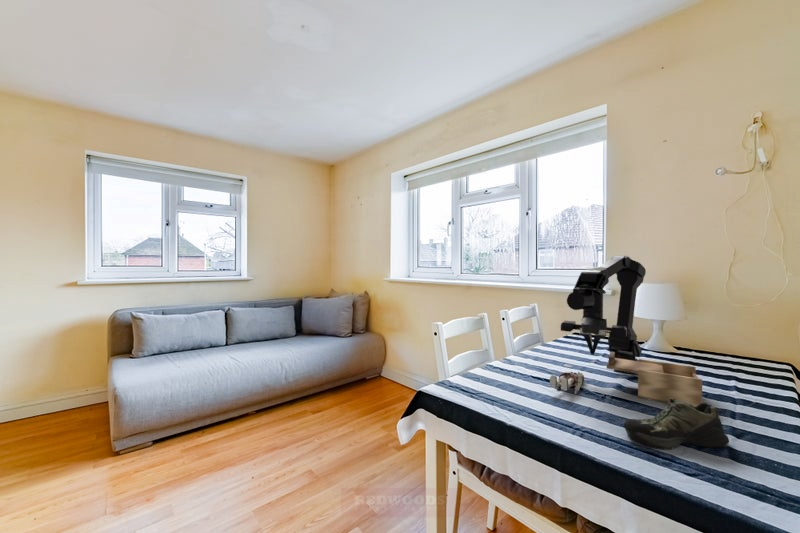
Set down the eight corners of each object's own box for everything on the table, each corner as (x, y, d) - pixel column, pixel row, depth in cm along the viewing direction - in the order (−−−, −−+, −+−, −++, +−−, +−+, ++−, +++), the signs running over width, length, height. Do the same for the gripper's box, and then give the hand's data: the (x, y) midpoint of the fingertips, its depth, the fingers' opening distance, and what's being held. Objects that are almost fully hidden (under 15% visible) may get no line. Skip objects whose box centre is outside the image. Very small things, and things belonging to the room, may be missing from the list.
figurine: (547, 373, 99) (570, 366, 113) (546, 393, 99) (569, 383, 113) (569, 378, 95) (590, 370, 109) (568, 399, 94) (589, 388, 108)
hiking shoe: (612, 430, 79) (613, 392, 78) (700, 429, 79) (700, 390, 79) (639, 451, 70) (639, 408, 70) (737, 449, 71) (737, 406, 70)
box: (638, 397, 97) (638, 369, 97) (638, 383, 109) (638, 358, 109) (701, 410, 89) (702, 379, 89) (694, 393, 100) (695, 366, 100)
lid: (606, 368, 103) (606, 358, 103) (609, 359, 112) (609, 350, 112) (664, 377, 95) (664, 366, 95) (661, 367, 104) (661, 357, 104)
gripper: (557, 308, 109) (557, 355, 109) (626, 313, 98) (625, 365, 98) (563, 304, 118) (563, 348, 118) (627, 308, 107) (626, 356, 107)
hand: (592, 354), depth 110 cm, fingers closed
